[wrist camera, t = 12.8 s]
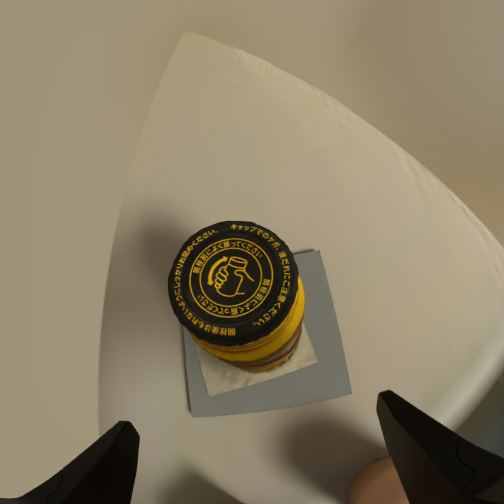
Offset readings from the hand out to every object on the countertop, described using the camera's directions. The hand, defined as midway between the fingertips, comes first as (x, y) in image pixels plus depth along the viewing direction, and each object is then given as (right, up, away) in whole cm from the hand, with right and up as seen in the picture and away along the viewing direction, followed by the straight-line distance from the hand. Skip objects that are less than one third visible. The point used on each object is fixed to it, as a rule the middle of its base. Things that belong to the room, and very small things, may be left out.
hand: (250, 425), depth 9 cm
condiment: (0, -1, +13) cm, 13 cm away
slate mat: (+1, -1, +14) cm, 14 cm away
